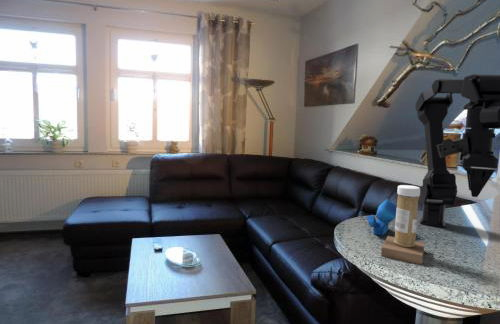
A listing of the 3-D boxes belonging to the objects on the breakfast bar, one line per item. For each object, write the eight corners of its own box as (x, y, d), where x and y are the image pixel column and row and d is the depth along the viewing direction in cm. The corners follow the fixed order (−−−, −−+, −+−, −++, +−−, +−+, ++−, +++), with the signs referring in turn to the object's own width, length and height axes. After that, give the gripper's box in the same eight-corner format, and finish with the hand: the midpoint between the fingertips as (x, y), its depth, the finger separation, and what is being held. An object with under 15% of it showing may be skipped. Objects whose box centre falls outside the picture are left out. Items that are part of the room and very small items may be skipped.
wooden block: (387, 243, 80) (387, 235, 80) (424, 250, 76) (424, 242, 76) (381, 256, 73) (381, 247, 73) (421, 264, 69) (422, 255, 68)
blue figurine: (362, 210, 85) (373, 192, 94) (362, 239, 88) (373, 219, 97) (393, 215, 81) (401, 196, 90) (392, 246, 84) (400, 224, 93)
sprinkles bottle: (419, 247, 73) (425, 188, 71) (400, 248, 72) (405, 188, 71) (407, 240, 77) (412, 184, 76) (389, 241, 77) (393, 184, 75)
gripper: (440, 127, 90) (435, 184, 91) (440, 127, 74) (433, 195, 75) (491, 129, 84) (484, 188, 86) (501, 129, 68) (493, 202, 70)
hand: (472, 193), depth 79 cm, fingers open, 9 cm apart
